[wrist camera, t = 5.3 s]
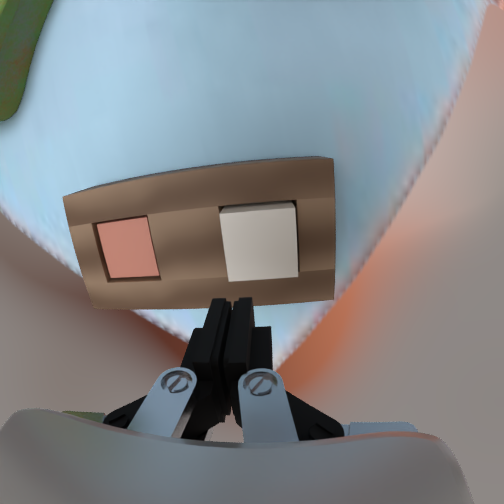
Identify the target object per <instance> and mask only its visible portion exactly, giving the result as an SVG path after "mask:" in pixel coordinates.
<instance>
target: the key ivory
mask: <svg viewBox="0 0 504 504" xmlns="http://www.w3.org/2000/svg"><path fill="white" fill-rule="evenodd" d="M219 215H220V223H221V230H222V238H223V245H224V252H225V259H226V266H227V273H228V280H229V282H232V281H247V280H262V279H276V278H289V277H298V256H297V233H296V214H295V207H294V205H293V203H292V201H291V200H283V201H270V202H258V203H246V204H235V205H225V206H224V208H223V209H222V211H221V212H220V214H219Z"/></svg>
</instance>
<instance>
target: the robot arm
mask: <svg viewBox="0 0 504 504" xmlns="http://www.w3.org/2000/svg"><path fill="white" fill-rule="evenodd" d="M231 406H232V410H233V414H234V415H235V420H236V423H237V424H238V425H239V426H240V427H241V428H242V429H243V437H244V443H233V442H213V441H210V439H211V436H212V433H213V426H215V425H216V424H218V423H219V422H225V416H226V415H230V413H231ZM0 504H474V503H473V499H472V495H471V492H470V490H469V487H468V484H467V481H466V478H465V476H464V474H463V471H462V469H461V467H460V465H459V463H458V461H457V459H456V457H455V455H454V454H453V452H452V450H451V449H450V448H449V447H448V445H447V444H446V443H445V442H444V441H443V440H441V439H440V438H438V437H436V436H433V435H430V434H425V433H419V432H418V431H417V429H416V428H415V426H414V425H412V424H410V423H408V422H351V423H350V425H343V424H340V423H339V422H337V421H336V420H334V419H333V418H331V417H329V416H327V415H326V414H324V413H322V412H320V411H319V410H317V409H315V408H314V407H312V406H310V405H309V404H307V403H305V402H304V401H302V400H300V399H299V398H297V397H295V396H294V395H292V394H291V393H289V392H287V391H286V390H285V388H284V385H283V381H282V378H281V377H280V375H279V374H278V373H276V372H275V371H273V362H272V335H271V326H267V327H255V321H254V310H253V299H252V297H239V300H238V301H234V304H233V310H232V305H231V301H227V300H226V298H213V299H212V301H211V304H210V307H209V310H208V314H207V317H206V320H205V323H204V326H203V328H195V329H194V330H193V333H192V335H191V338H190V341H189V344H188V347H187V349H186V352H185V355H184V358H183V361H182V364H181V367H180V368H179V367H177V368H172V369H169V370H166V371H165V372H164V373H162V374H161V375H160V376H159V377H158V379H157V381H156V382H155V384H154V385H153V387H152V389H151V390H150V392H149V393H148V395H146V396H144V397H142V398H140V399H138V400H136V401H134V402H132V403H129V404H127V405H126V406H123V407H121V408H119V409H117V410H115V411H113V412H111V413H110V414H108V415H105V413H92V412H75V411H74V412H73V411H63V412H59V411H54V410H48V409H40V408H28V409H23V410H19V411H17V412H15V413H13V414H12V415H11V416H10V417H9V418H8V420H7V421H6V422H5V423H4V425H3V426H2V427H1V429H0Z"/></svg>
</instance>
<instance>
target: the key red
mask: <svg viewBox="0 0 504 504" xmlns="http://www.w3.org/2000/svg"><path fill="white" fill-rule="evenodd" d="M97 228H98V232H99V236H100V240H101V244H102V248H103V252H104V256H105V259H106V263H107V266H108V270H109V273H110V277H111V278H121V277H142V276H159V275H160V272H159V268H158V263H157V259H156V255H155V250H154V246H153V241H152V236H151V231H150V226H149V221H148V216H147V215H141V216H134V217H127V218H121V219H114V220H108V221H102V222H101V223H99V224H97Z"/></svg>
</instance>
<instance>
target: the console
mask: <svg viewBox="0 0 504 504" xmlns="http://www.w3.org/2000/svg"><path fill="white" fill-rule="evenodd" d="M283 200H291V201H292V203H293V205H294V207H295V214H296V233H297V256H298V277H289V278H276V279H262V280H247V281H232V282H229V280H228V273H227V266H226V259H225V252H224V245H223V238H222V230H221V223H220V215H219V214H220V212H221V211H222V209H223V208H224V206H225V205H235V204H246V203H258V202H270V201H283ZM63 202H64V207H65V212H66V217H67V221H68V225H69V230H70V234H71V238H72V242H73V245H74V249H75V253H76V256H77V259H78V263H79V266H80V269H81V273H82V276H83V279H84V282H85V285H86V288H87V290H88V293H89V296H90V299H91V302H92V304H93V307H94V309H199V308H209V307H210V304H211V301H212V299H213V298H226V300H227V301H231V305H232V307H233V304H234V301H238V300H239V297H252V299H253V306H262V305H277V304H290V303H302V302H314V301H324V300H334V288H335V251H336V220H335V183H334V163H333V159H332V158H326V157H320V156H310V157H290V158H275V159H262V160H251V161H241V162H232V163H223V164H215V165H207V166H199V167H192V168H186V169H179V170H173V171H167V172H161V173H155V174H150V175H144V176H139V177H134V178H129V179H124V180H120V181H115V182H111V183H106V184H102V185H98V186H94V187H91V188H87V189H84V190H81V191H78V192H75V193H72V194H69V195H67V196H64V197H63ZM141 215H147V216H148V221H149V226H150V231H151V236H152V241H153V246H154V250H155V255H156V259H157V263H158V268H159V272H160V275H159V276H142V277H121V278H111V277H110V273H109V270H108V266H107V263H106V259H105V256H104V252H103V248H102V244H101V240H100V236H99V232H98V228H97V224H99V223H101V222H102V221H108V220H114V219H121V218H127V217H134V216H141Z"/></svg>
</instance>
